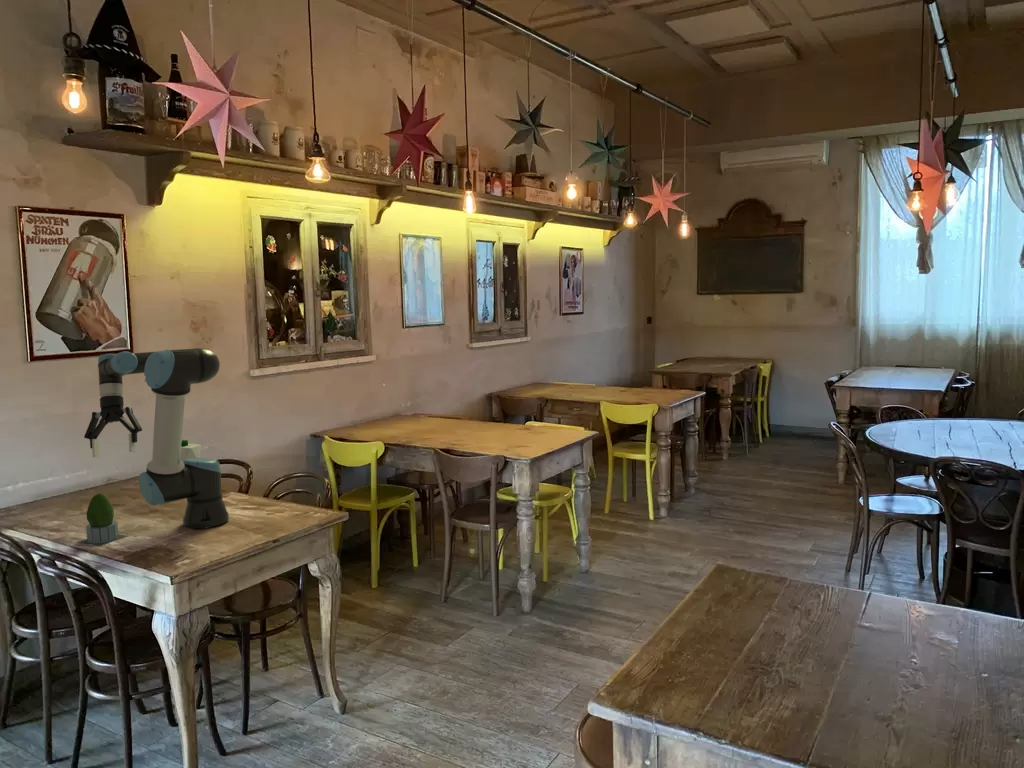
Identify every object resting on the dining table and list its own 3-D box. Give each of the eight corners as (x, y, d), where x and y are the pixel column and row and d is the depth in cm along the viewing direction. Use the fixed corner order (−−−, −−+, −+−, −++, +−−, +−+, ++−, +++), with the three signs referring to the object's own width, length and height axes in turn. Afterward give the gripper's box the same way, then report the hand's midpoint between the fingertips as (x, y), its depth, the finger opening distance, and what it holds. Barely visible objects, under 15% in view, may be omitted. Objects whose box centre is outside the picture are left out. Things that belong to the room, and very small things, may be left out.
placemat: (129, 537, 250) (128, 535, 250) (99, 547, 240) (99, 546, 240) (106, 533, 255) (106, 532, 255) (76, 543, 245) (76, 542, 245)
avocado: (109, 523, 252) (106, 489, 251) (118, 528, 247) (115, 493, 246) (84, 529, 247) (80, 494, 245) (92, 534, 241) (89, 498, 240)
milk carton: (186, 484, 320) (183, 438, 317) (206, 485, 318) (203, 439, 316) (174, 489, 311) (171, 442, 309) (194, 490, 310) (191, 443, 307)
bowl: (124, 536, 250) (123, 522, 249) (100, 544, 242) (98, 530, 241) (105, 533, 253) (104, 519, 253) (81, 541, 245) (79, 526, 245)
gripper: (150, 393, 273) (153, 450, 270) (85, 403, 274) (87, 460, 271) (138, 390, 266) (142, 448, 262) (71, 400, 267) (74, 459, 263)
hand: (114, 454), depth 266 cm, fingers open, 13 cm apart
